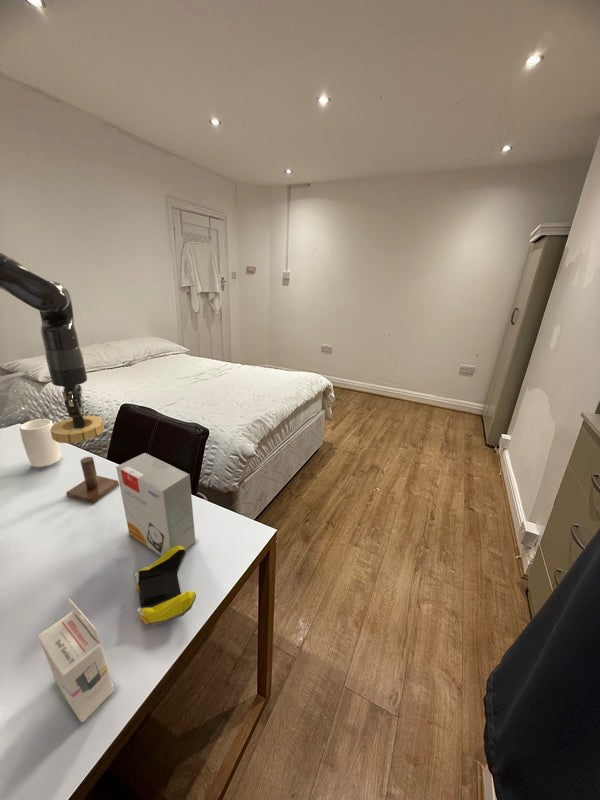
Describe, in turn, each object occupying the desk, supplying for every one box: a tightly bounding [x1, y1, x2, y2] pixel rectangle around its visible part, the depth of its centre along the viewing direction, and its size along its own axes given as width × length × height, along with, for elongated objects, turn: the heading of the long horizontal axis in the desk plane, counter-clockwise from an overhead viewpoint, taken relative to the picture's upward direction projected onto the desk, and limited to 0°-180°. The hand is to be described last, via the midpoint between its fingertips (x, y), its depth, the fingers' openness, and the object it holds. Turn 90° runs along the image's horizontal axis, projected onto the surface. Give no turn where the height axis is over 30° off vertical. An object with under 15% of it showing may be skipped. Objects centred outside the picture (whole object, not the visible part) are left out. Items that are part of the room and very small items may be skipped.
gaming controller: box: [134, 545, 197, 626], centre depth 64 cm, size 15×6×10 cm
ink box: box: [37, 598, 115, 723], centre depth 47 cm, size 9×5×15 cm, turn 56°
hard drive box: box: [115, 452, 196, 557], centre depth 74 cm, size 16×8×20 cm, turn 60°
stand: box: [65, 456, 120, 504], centre depth 91 cm, size 9×9×10 cm
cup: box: [19, 418, 62, 468], centre depth 101 cm, size 8×8×14 cm
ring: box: [50, 414, 105, 444], centre depth 84 cm, size 12×12×2 cm
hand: (80, 425), depth 88 cm, fingers closed on ring, 2 cm apart
